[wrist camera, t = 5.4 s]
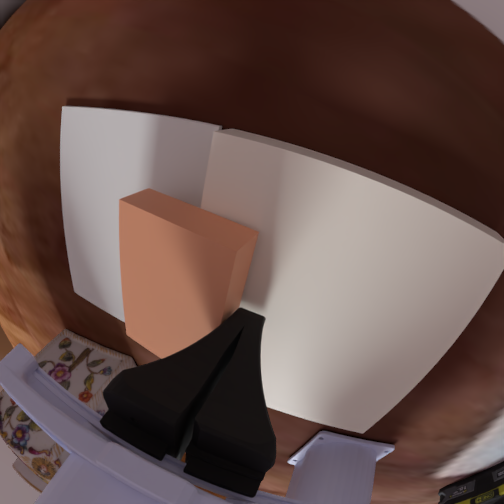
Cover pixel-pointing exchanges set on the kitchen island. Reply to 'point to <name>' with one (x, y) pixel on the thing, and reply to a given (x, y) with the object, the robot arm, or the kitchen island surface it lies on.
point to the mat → (120, 184)
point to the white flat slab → (346, 276)
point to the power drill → (476, 488)
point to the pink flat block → (178, 270)
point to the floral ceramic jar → (74, 381)
